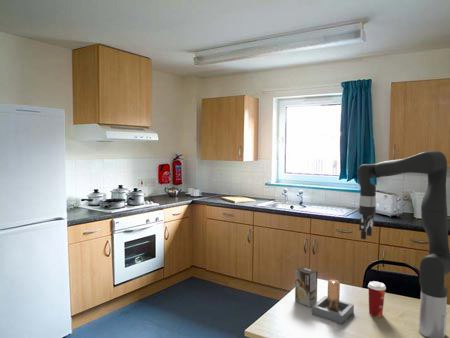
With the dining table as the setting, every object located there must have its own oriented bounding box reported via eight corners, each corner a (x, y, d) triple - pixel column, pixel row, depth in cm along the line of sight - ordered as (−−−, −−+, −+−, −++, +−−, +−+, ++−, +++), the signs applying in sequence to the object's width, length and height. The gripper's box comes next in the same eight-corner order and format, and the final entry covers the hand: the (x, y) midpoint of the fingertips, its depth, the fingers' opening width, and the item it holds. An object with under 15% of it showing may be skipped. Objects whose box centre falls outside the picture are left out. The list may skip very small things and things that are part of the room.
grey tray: (353, 312, 164) (353, 304, 164) (342, 324, 153) (342, 315, 153) (324, 304, 173) (324, 296, 172) (311, 314, 162) (312, 306, 161)
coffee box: (317, 303, 173) (318, 271, 172) (309, 307, 169) (310, 274, 168) (302, 297, 180) (302, 266, 179) (294, 300, 176) (295, 269, 175)
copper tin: (340, 311, 163) (341, 281, 162) (336, 315, 159) (337, 285, 158) (329, 307, 166) (330, 278, 165) (325, 311, 162) (326, 282, 161)
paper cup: (386, 318, 159) (388, 288, 158) (368, 316, 160) (369, 286, 159) (382, 310, 167) (383, 281, 165) (365, 308, 168) (366, 280, 167)
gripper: (370, 207, 166) (369, 241, 167) (379, 203, 177) (378, 235, 178) (354, 205, 171) (353, 238, 172) (364, 202, 182) (363, 233, 183)
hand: (366, 237), depth 175 cm, fingers open, 8 cm apart
